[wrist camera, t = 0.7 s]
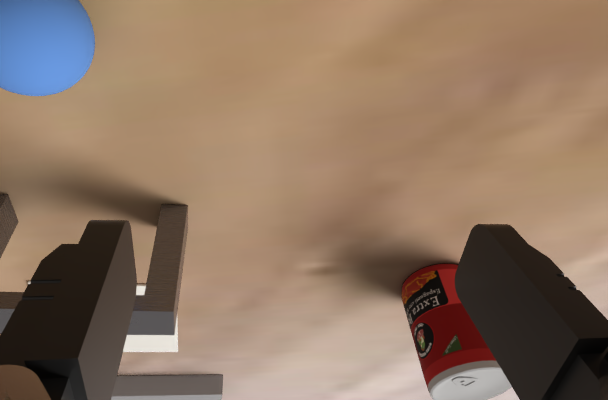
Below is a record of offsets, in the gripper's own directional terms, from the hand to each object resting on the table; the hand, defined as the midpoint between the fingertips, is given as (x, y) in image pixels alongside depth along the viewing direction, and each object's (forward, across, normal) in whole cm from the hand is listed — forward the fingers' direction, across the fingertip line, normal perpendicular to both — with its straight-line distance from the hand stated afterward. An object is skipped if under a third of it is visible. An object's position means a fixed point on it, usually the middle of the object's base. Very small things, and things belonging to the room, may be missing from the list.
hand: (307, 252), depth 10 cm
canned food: (+25, -20, +24) cm, 40 cm away
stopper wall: (+30, +14, +44) cm, 55 cm away
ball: (+17, +12, 0) cm, 21 cm away
